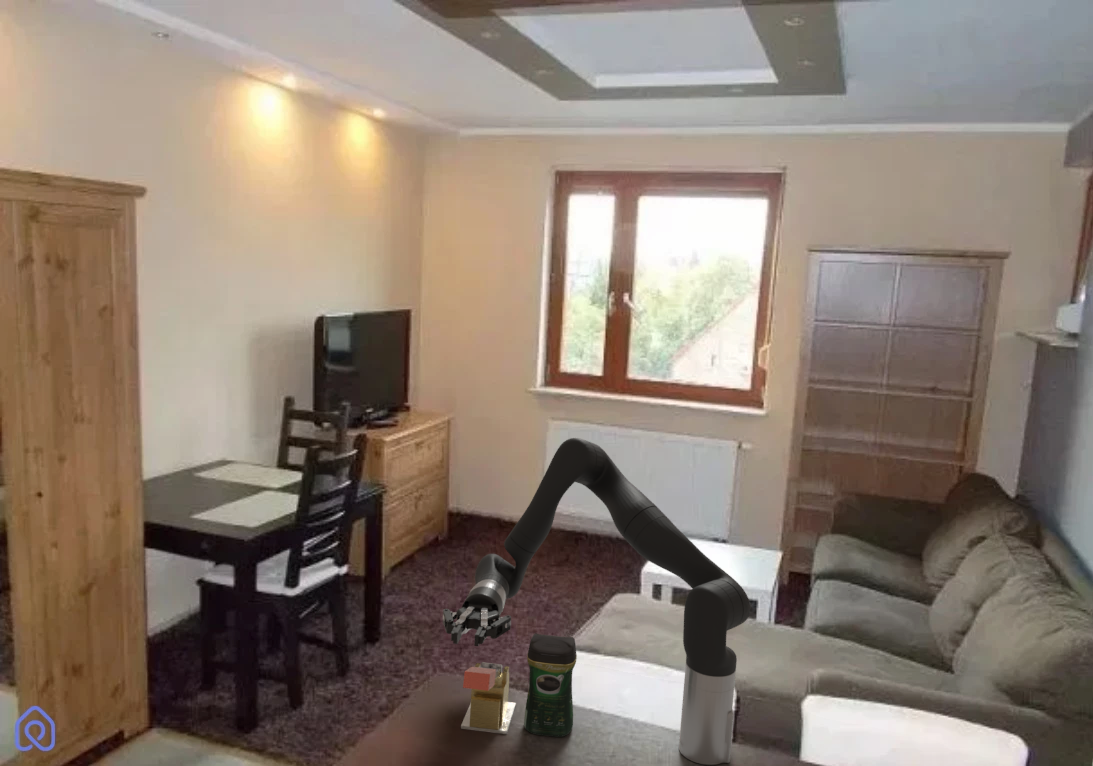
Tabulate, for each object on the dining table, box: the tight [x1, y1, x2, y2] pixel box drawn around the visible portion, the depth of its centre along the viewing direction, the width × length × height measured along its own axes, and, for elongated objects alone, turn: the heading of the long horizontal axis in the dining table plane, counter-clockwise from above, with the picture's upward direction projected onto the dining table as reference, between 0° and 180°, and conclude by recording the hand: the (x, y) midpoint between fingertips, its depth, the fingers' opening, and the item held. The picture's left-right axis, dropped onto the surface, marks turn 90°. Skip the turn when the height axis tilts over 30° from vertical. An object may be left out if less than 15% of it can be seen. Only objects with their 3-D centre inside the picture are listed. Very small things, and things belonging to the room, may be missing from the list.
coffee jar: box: [523, 633, 578, 738], centre depth 159 cm, size 10×8×19 cm
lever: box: [462, 661, 503, 691], centre depth 154 cm, size 5×3×18 cm
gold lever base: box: [460, 663, 517, 735], centre depth 163 cm, size 9×11×10 cm
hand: (466, 639), depth 147 cm, fingers open, 3 cm apart
